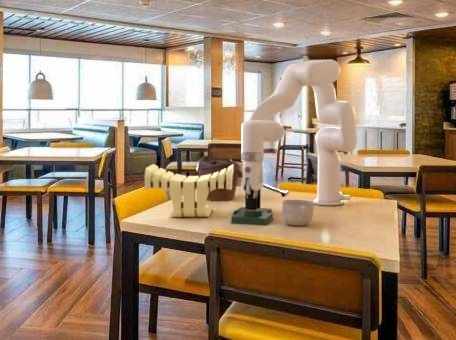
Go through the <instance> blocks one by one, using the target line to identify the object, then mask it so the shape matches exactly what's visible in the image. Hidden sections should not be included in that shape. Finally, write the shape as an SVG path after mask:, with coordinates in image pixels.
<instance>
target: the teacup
mask: <svg viewBox="0 0 456 340" xmlns="http://www.w3.org/2000/svg"><path fill="white" fill-rule="evenodd" d="M314 208H315V203H314V202H313V201H311V200H306V199H285V200H282V218H283V220H284V222H286V223H287V224H288V225H290V226H300V227H301V226H307V225H308V224H309V223H311V222H312V220H313V219H314V218H313V217H314Z"/></svg>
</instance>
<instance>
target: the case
mask: <svg viewBox="0 0 456 340" xmlns="http://www.w3.org/2000/svg"><path fill="white" fill-rule="evenodd" d="M233 164H234V172H233V178H232V190H229V189H226V187H224V189H223V188H220V189H218V187H216V189H214V190H212V191H211V192H210V187H209V194H208V196H207V199H206V200H207V201H216V202H217V201H218V202H220V201H221V202H224V201H230V200H233V199H234V198H235V197H236V192H237V191H236V190H237V186H238V183H239V176H242V177H243V165H242V164H241V163H240V162H239V161H233V160H232V159H230V158H229V159H224V158H221V157H217V156H214V155H203V156H202V157H200V159H199V160H198V163H197V165H196V173H199V178H200V177H201V176H202V175H208V174H211V177H212V175H213V173H215V172H218V171H219V173H220V171H221V170H223V169H225V168H226V171H227V169H228V167H229V166H231V165H233ZM217 181H218V180H217ZM225 181H226V176H225Z"/></svg>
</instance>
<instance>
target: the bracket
mask: <svg viewBox="0 0 456 340" xmlns="http://www.w3.org/2000/svg"><path fill="white" fill-rule="evenodd" d="M261 190H262V188H261V189H259V190H258V196H257V208H259V209H262V212H263V213H273V212H272V210H273V209H272V208H267V207H266V208H265V207H261V194H262V193H261V192H262V191H261ZM244 194H245V195H244V206H241V207H239V208H238V209H236V210H234V211H233V216H234V215H235V214H237V213H239V212H241V211H243V210H244V209H247V195H246V190H244Z"/></svg>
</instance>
